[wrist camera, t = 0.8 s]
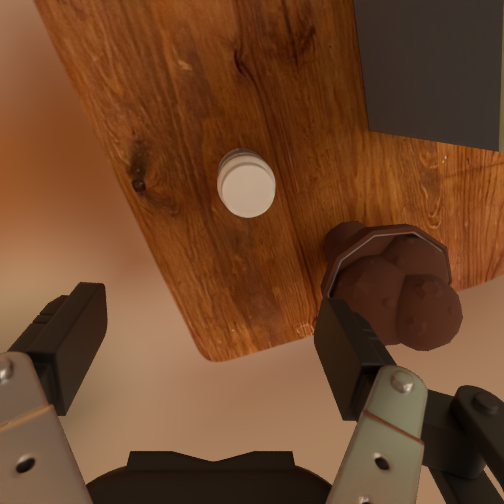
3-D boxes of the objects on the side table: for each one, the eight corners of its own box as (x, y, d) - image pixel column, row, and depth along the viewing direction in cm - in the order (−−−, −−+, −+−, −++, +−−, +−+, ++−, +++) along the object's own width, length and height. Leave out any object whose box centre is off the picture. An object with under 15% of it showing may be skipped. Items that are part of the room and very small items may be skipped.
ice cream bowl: (383, 178, 33) (496, 228, 20) (403, 268, 38) (507, 360, 24) (286, 218, 34) (329, 292, 21) (317, 301, 39) (369, 408, 25)
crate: (348, -31, 26) (509, -203, 12) (479, -74, 26) (815, -307, 11) (369, 130, 31) (498, 152, 17) (478, 97, 31) (707, 88, 16)
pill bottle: (264, 197, 33) (277, 225, 25) (216, 195, 33) (216, 222, 25) (268, 148, 31) (284, 162, 24) (218, 145, 31) (218, 158, 23)
